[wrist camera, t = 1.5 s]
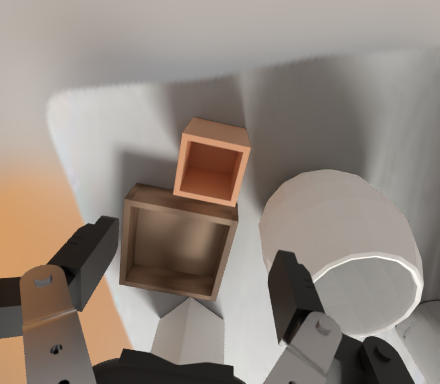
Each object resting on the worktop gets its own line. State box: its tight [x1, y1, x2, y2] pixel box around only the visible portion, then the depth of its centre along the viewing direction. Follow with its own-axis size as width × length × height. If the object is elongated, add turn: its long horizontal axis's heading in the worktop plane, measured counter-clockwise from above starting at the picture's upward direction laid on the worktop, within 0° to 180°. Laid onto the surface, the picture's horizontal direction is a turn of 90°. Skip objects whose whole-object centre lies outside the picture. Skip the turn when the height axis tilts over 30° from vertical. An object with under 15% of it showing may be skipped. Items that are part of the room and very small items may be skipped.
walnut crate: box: [119, 183, 238, 301], centre depth 32 cm, size 12×12×4 cm
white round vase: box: [259, 169, 424, 338], centre depth 26 cm, size 13×13×14 cm
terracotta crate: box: [173, 117, 251, 207], centre depth 26 cm, size 6×6×7 cm
